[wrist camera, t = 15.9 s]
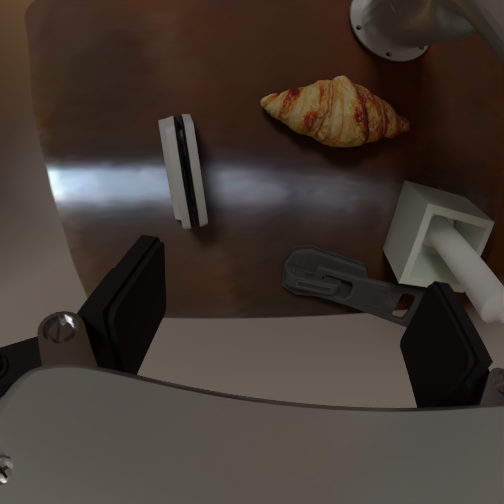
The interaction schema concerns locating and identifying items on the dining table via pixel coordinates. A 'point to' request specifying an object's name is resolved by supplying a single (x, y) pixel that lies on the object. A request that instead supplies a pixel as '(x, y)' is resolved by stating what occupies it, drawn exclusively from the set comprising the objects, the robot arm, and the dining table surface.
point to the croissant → (336, 113)
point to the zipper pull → (344, 283)
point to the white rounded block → (183, 192)
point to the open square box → (414, 229)
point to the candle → (467, 268)
